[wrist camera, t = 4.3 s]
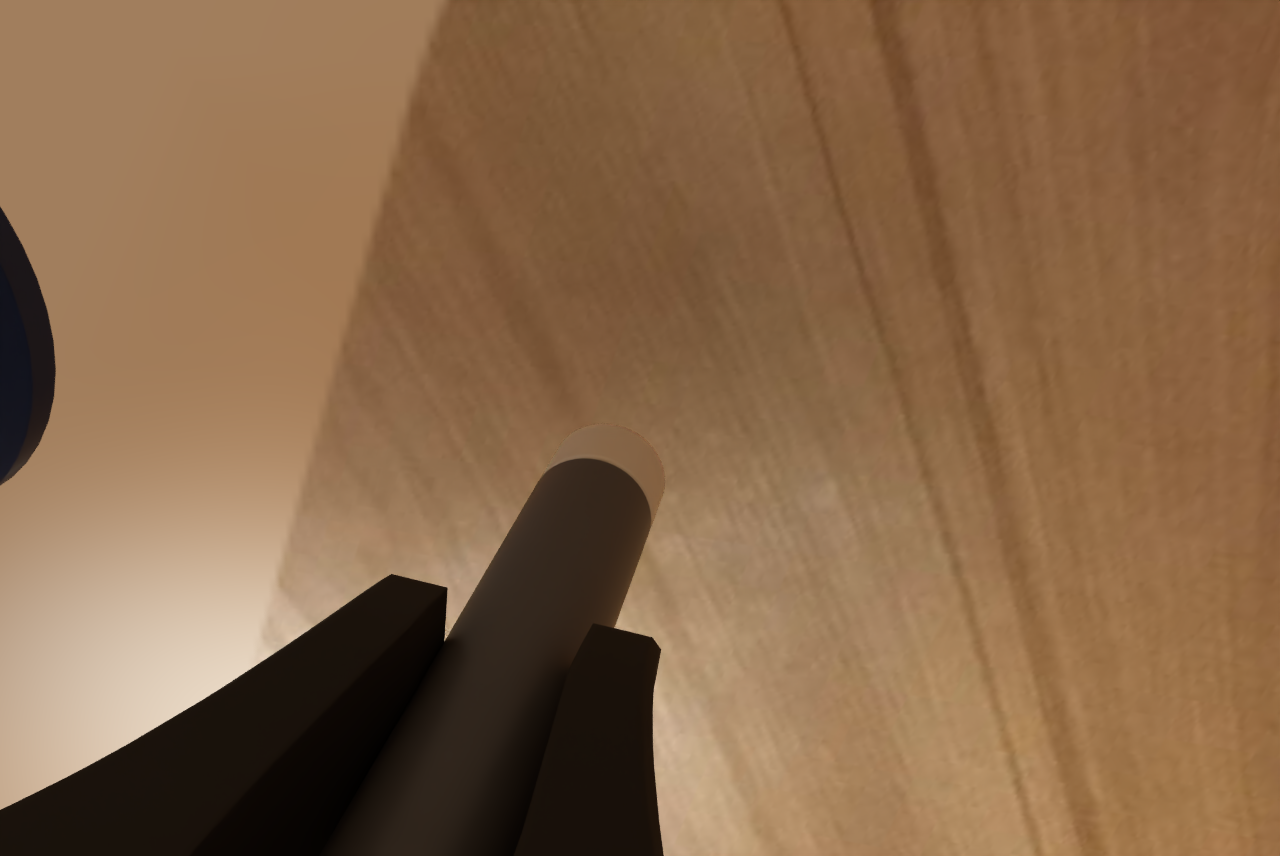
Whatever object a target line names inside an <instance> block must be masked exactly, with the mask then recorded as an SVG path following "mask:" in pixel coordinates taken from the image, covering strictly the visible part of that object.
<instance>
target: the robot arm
mask: <svg viewBox="0 0 1280 856" xmlns="http://www.w3.org/2000/svg"><path fill="white" fill-rule="evenodd" d="M446 604H447V587H443V586H439V585H434V584H430V583H426V582H422V581H418V580H414V579H410V578H406V577H402V576H397V575H393V574H391V575H389V576H387V577H386V578H384V579H382V580H381V581H379V582H378V583H376V584H375V585H373V586H372V587H370V588H369V589H367V590H366V591H364V592H363V593H362V594H360V595H359V596H357V597H356V598H354V599H353V600H351V601H350V602H349V603H347V604H346V605H344V606H343V607H341V608H340V609H339V610H337V611H336V612H334V613H333V614H331V615H330V616H329V617H327V618H326V619H324V620H323V621H321V622H320V623H319V624H317V625H316V626H314V627H313V628H311V629H310V630H308V631H307V632H305V633H304V634H302V635H301V636H300V637H298V638H297V639H295V640H294V641H292V642H291V643H289V644H288V645H286V646H285V647H284V648H282V649H281V650H279V651H277V652H276V653H274V654H273V655H271V656H270V657H268V658H267V659H265V660H264V661H262V662H261V663H259V664H258V665H256V666H255V667H253V668H252V669H250V670H248V671H247V672H245V673H244V674H242V675H241V676H239V677H238V678H237V679H235V680H233V681H232V682H230V683H229V684H227V685H226V686H224V687H222V688H221V689H219V690H218V691H216V692H215V693H213V694H211V695H210V696H208V697H207V698H205V699H203V700H202V701H200V702H198V703H197V704H195V705H194V706H192V707H190V708H188V709H187V710H185V711H183V712H182V713H180V714H178V715H176V716H175V717H173V718H172V719H170V720H168V721H166V722H165V723H163V724H161V725H160V726H158V727H156V728H154V729H153V730H151V731H150V732H148V733H146V734H144V735H143V736H141V737H139V738H138V739H136V740H134V741H133V742H131V743H129V744H127V745H126V746H124V747H122V748H120V749H119V750H117V751H115V752H113V753H111V754H109V755H107V756H106V757H104V758H102V759H100V760H98V761H96V762H95V763H93V764H91V765H89V766H87V767H86V768H83V769H82V770H80V771H78V772H76V773H74V774H72V775H70V776H68V777H67V778H64V779H62V780H60V781H58V782H56V783H54V784H53V785H50V786H48V787H46V788H44V789H42V790H40V791H39V792H36V793H34V794H32V795H30V796H28V797H26V798H24V799H22V800H20V801H18V802H16V803H14V804H12V805H10V806H8V807H5V808H3V809H1V810H0V856H319V855H320V853H321V852H322V850H323V848H324V847H325V845H326V843H327V841H328V840H329V838H330V836H331V835H332V833H333V831H334V830H335V828H336V826H337V824H338V823H339V821H340V819H341V818H342V816H343V814H344V812H345V811H346V809H347V807H348V806H349V804H350V802H351V801H352V799H353V797H354V795H355V794H356V792H357V790H358V789H359V787H360V785H361V783H362V782H363V780H364V778H365V777H366V775H367V773H368V771H369V770H370V768H371V766H372V765H373V763H374V761H375V760H376V758H377V756H378V754H379V753H380V751H381V749H382V748H383V746H384V744H385V742H386V741H387V739H388V737H389V736H390V734H391V732H392V731H393V729H394V727H395V725H396V724H397V722H398V720H399V719H400V717H401V715H402V713H403V712H404V710H405V708H406V707H407V705H408V703H409V701H410V700H411V698H412V696H413V695H414V693H415V691H416V690H417V688H418V686H419V684H420V683H421V681H422V679H423V678H424V676H425V674H426V672H427V671H428V669H429V667H430V666H431V664H432V662H433V661H434V659H435V657H436V655H437V654H438V652H439V650H440V649H441V647H442V645H443V643H444V637H445V621H446ZM660 653H661V649H660V647H659V646H658V645H657V643H656V642H655V640H654V639H653V638H652V637H648V636H644V635H640V634H636V633H632V632H628V631H624V630H620V629H615V628H611V627H607V626H603V625H599V624H595V623H593V624H592V626H591V628H590V629H589V631H588V633H587V635H586V637H585V638H584V640H583V642H582V644H581V646H580V648H579V650H578V652H577V654H576V656H575V658H574V660H573V662H572V664H571V666H570V668H569V671H568V674H567V677H566V681H565V684H564V688H563V691H562V694H561V698H560V701H559V705H558V708H557V712H556V715H555V719H554V722H553V726H552V729H551V733H550V736H549V740H548V743H547V747H546V750H545V754H544V757H543V761H542V764H541V768H540V771H539V775H538V778H537V782H536V785H535V789H534V792H533V796H532V799H531V803H530V806H529V809H528V813H527V816H526V820H525V823H524V827H523V830H522V833H521V836H520V839H519V842H518V845H517V847H516V850H515V853H514V856H664V855H663V847H662V840H661V832H660V825H659V815H658V805H657V794H656V783H655V772H654V757H653V692H654V685H655V680H656V674H657V669H658V664H659V658H660Z"/></svg>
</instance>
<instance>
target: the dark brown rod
mask: <svg viewBox="0 0 1280 856" xmlns="http://www.w3.org/2000/svg"><path fill="white" fill-rule="evenodd" d="M664 489H665V473H664V468H663V465H662V462H661V460H660V458H659V456H658V454H657V453H656V451H655V450H654V448H653V447H652V446H651V445H650V444H649V443H648V442H647V441H646V440H645V439H644V438H643V437H641V436H640V435H638V434H637V433H635V432H633V431H632V430H629V429H627V428H625V427H622V426H618V425H613V424H593V425H589V426H585V427H582V428H579V429H578V430H576V431H574V432H572V433H571V434H569V435H568V436H567V437H566V438H565V439H564V440H563V441H562V443H561V444H560V445H559V447H558V449H557V451H556V452H555V454H554V456H553V457H552V459H551V461H550V462H549V464H548V466H547V468H546V469H545V471H544V473H543V474H542V476H541V478H540V480H539V481H538V483H537V485H536V486H535V488H534V490H533V492H532V493H531V495H530V497H529V498H528V500H527V502H526V503H525V505H524V507H523V509H522V510H521V512H520V514H519V515H518V517H517V519H516V521H515V522H514V524H513V526H512V527H511V529H510V531H509V532H508V534H507V536H506V538H505V539H504V541H503V543H502V544H501V546H500V548H499V550H498V551H497V553H496V555H495V556H494V558H493V560H492V561H491V563H490V565H489V567H488V568H487V570H486V572H485V573H484V575H483V577H482V579H481V580H480V582H479V584H478V585H477V587H476V589H475V591H474V592H473V594H472V596H471V597H470V599H469V601H468V602H467V604H466V606H465V608H464V609H463V611H462V613H461V614H460V616H459V618H458V620H457V621H456V623H455V625H454V626H453V628H452V630H451V631H450V633H449V635H448V637H447V638H446V640H445V642H444V643H443V645H442V647H441V649H440V650H439V652H438V654H437V655H436V657H435V659H434V661H433V662H432V664H431V666H430V667H429V669H428V671H427V672H426V674H425V676H424V678H423V679H422V681H421V683H420V684H419V686H418V688H417V690H416V691H415V693H414V695H413V696H412V698H411V700H410V701H409V703H408V705H407V707H406V708H405V710H404V712H403V713H402V715H401V717H400V719H399V720H398V722H397V724H396V725H395V727H394V729H393V731H392V732H391V734H390V736H389V737H388V739H387V741H386V742H385V744H384V746H383V748H382V749H381V751H380V753H379V754H378V756H377V758H376V760H375V761H374V763H373V765H372V766H371V768H370V770H369V771H368V773H367V775H366V777H365V778H364V780H363V782H362V783H361V785H360V787H359V789H358V790H357V792H356V794H355V795H354V797H353V799H352V801H351V802H350V804H349V806H348V807H347V809H346V811H345V812H344V814H343V816H342V818H341V819H340V821H339V823H338V824H337V826H336V828H335V830H334V831H333V833H332V835H331V836H330V838H329V840H328V841H327V843H326V845H325V847H324V848H323V850H322V852H321V853H320V855H319V856H514V853H515V850H516V847H517V845H518V842H519V839H520V836H521V833H522V830H523V827H524V823H525V820H526V816H527V813H528V809H529V806H530V803H531V799H532V796H533V792H534V789H535V785H536V782H537V778H538V775H539V771H540V768H541V764H542V761H543V757H544V754H545V750H546V747H547V743H548V740H549V736H550V733H551V729H552V726H553V722H554V719H555V715H556V712H557V708H558V705H559V701H560V698H561V694H562V691H563V688H564V684H565V681H566V677H567V674H568V671H569V668H570V666H571V664H572V662H573V660H574V658H575V656H576V654H577V652H578V650H579V648H580V646H581V644H582V642H583V640H584V638H585V637H586V635H587V633H588V631H589V629H590V628H591V626H592V624H593V623H595V624H599V625H603V626H607V627H611V628H614V627H615V624H616V622H617V619H618V616H619V614H620V611H621V608H622V605H623V603H624V600H625V597H626V594H627V592H628V589H629V586H630V583H631V581H632V578H633V575H634V572H635V570H636V567H637V564H638V562H639V559H640V556H641V553H642V551H643V548H644V545H645V542H646V540H647V537H648V534H649V531H650V528H651V526H652V523H653V521H654V518H655V515H656V512H657V510H658V507H659V504H660V501H661V499H662V496H663V493H664Z"/></svg>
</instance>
